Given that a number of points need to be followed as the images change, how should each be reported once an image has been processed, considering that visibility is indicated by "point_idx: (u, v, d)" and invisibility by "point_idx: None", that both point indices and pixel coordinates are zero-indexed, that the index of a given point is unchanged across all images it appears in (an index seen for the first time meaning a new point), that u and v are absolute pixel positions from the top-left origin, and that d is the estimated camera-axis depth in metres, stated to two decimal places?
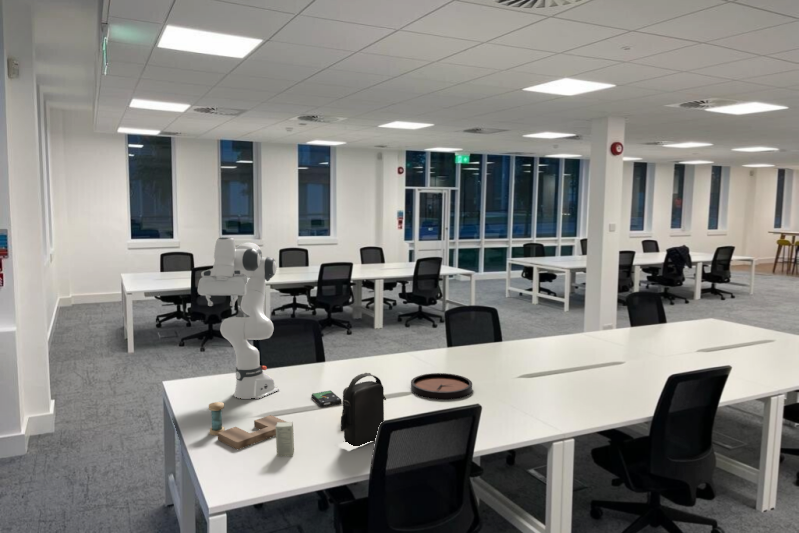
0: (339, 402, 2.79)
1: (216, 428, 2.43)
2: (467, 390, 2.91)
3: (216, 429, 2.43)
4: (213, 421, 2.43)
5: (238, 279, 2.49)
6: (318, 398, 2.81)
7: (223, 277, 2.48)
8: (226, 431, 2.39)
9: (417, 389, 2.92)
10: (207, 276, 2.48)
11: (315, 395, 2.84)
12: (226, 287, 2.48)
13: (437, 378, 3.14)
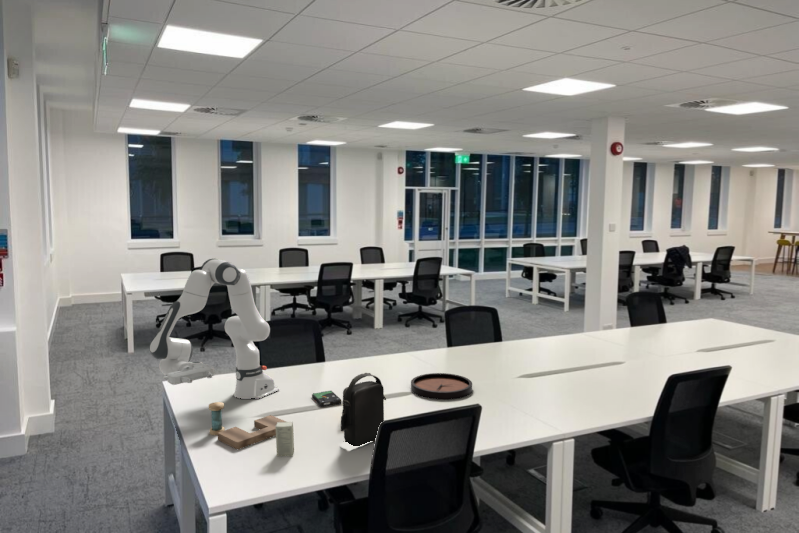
0: (339, 402, 2.79)
1: (216, 428, 2.43)
2: (467, 390, 2.91)
3: (216, 429, 2.43)
4: (213, 421, 2.43)
5: None
6: (318, 398, 2.81)
7: None
8: (226, 431, 2.39)
9: (417, 389, 2.92)
10: None
11: (316, 395, 2.84)
12: None
13: (437, 378, 3.14)
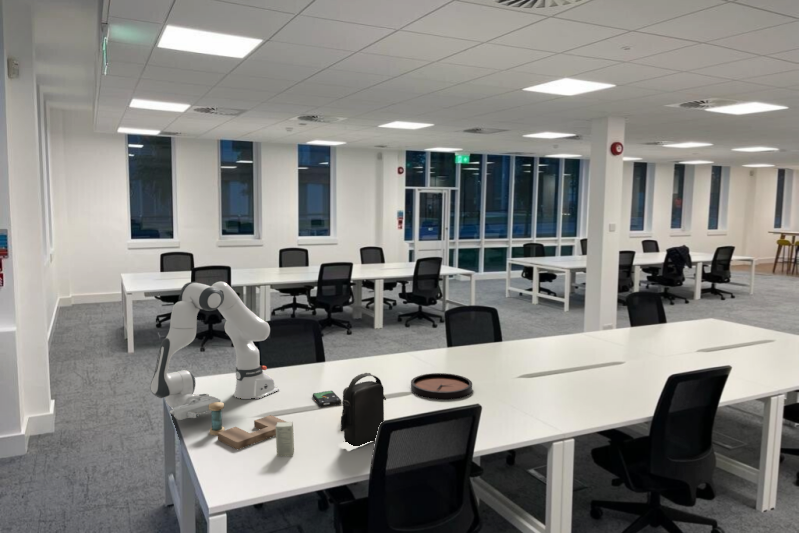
0: (339, 402, 2.78)
1: (216, 428, 2.43)
2: (467, 390, 2.91)
3: (216, 429, 2.43)
4: (213, 421, 2.43)
5: None
6: (318, 398, 2.81)
7: None
8: (226, 431, 2.39)
9: (417, 389, 2.92)
10: None
11: (316, 395, 2.84)
12: None
13: (437, 378, 3.14)
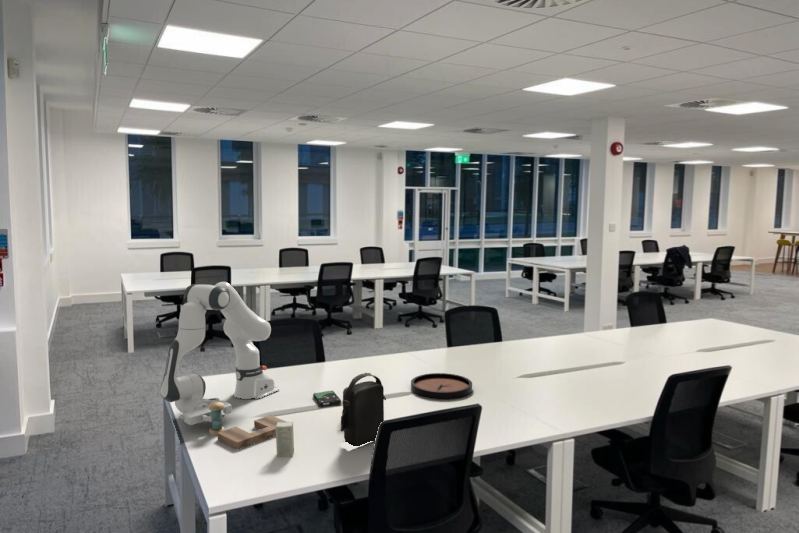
0: (338, 402, 2.78)
1: (216, 428, 2.43)
2: (467, 390, 2.91)
3: (216, 429, 2.43)
4: (213, 421, 2.43)
5: None
6: (318, 398, 2.81)
7: None
8: (226, 431, 2.39)
9: (417, 389, 2.92)
10: None
11: (316, 395, 2.85)
12: None
13: (437, 378, 3.14)
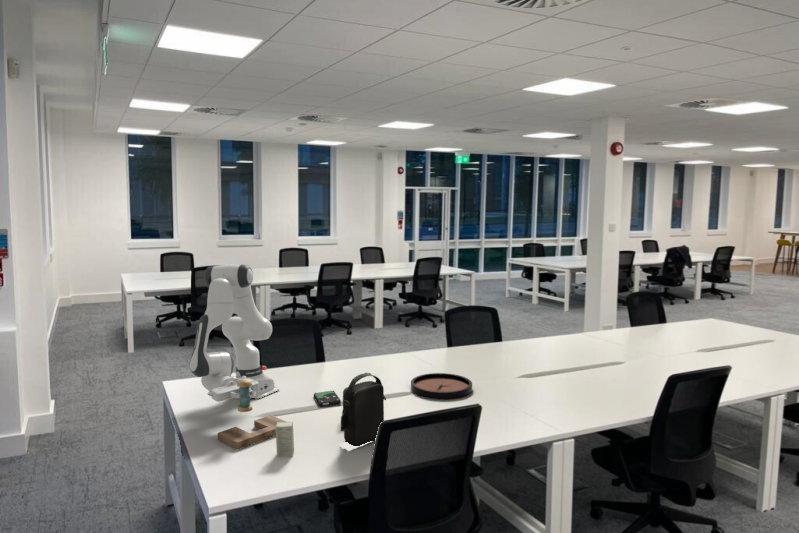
0: (338, 403, 2.78)
1: (244, 405, 2.41)
2: (467, 390, 2.91)
3: (244, 406, 2.41)
4: (241, 398, 2.40)
5: None
6: (318, 398, 2.81)
7: None
8: (226, 431, 2.39)
9: (417, 389, 2.92)
10: None
11: (317, 395, 2.85)
12: None
13: (437, 378, 3.14)
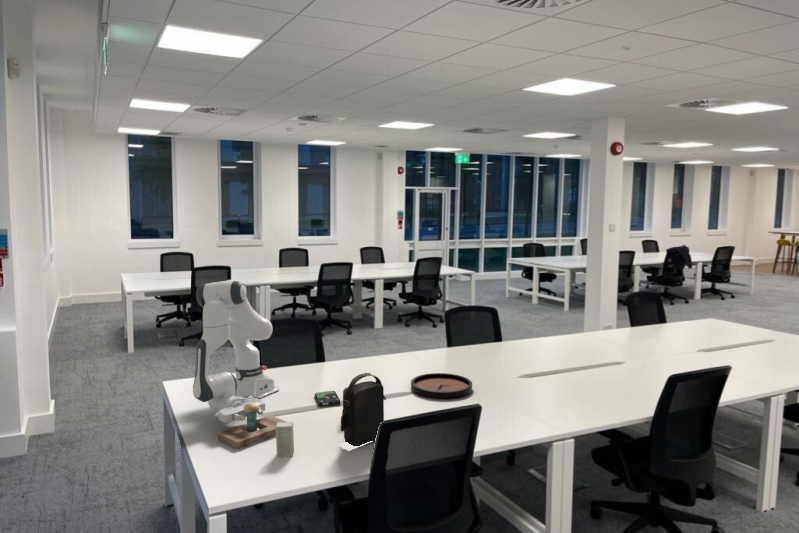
0: (338, 403, 2.78)
1: (251, 429, 2.42)
2: (467, 390, 2.91)
3: (251, 430, 2.42)
4: (248, 422, 2.42)
5: None
6: (318, 398, 2.81)
7: None
8: (226, 431, 2.39)
9: (417, 389, 2.92)
10: None
11: (317, 395, 2.85)
12: None
13: (437, 378, 3.14)
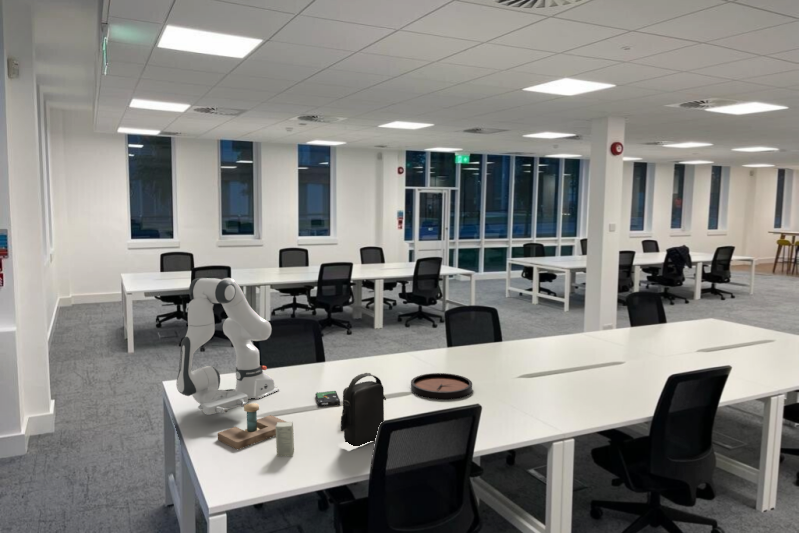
0: (338, 403, 2.77)
1: (251, 429, 2.42)
2: (467, 390, 2.91)
3: (251, 430, 2.42)
4: (248, 422, 2.42)
5: None
6: (319, 398, 2.82)
7: None
8: (226, 431, 2.39)
9: (417, 389, 2.92)
10: None
11: (318, 395, 2.85)
12: None
13: (437, 378, 3.14)
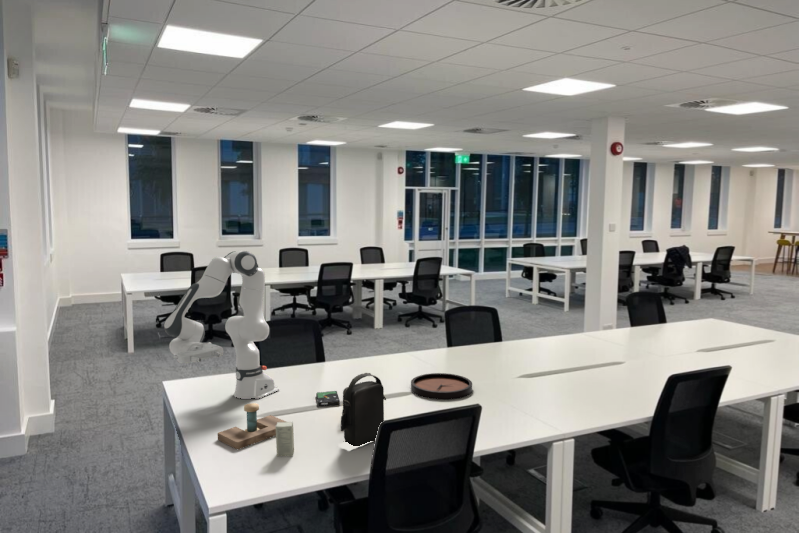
0: (337, 403, 2.77)
1: (251, 429, 2.42)
2: (467, 390, 2.91)
3: (251, 430, 2.42)
4: (248, 422, 2.42)
5: None
6: (319, 397, 2.82)
7: None
8: (226, 431, 2.39)
9: (417, 389, 2.92)
10: None
11: (318, 395, 2.85)
12: None
13: (437, 378, 3.14)
